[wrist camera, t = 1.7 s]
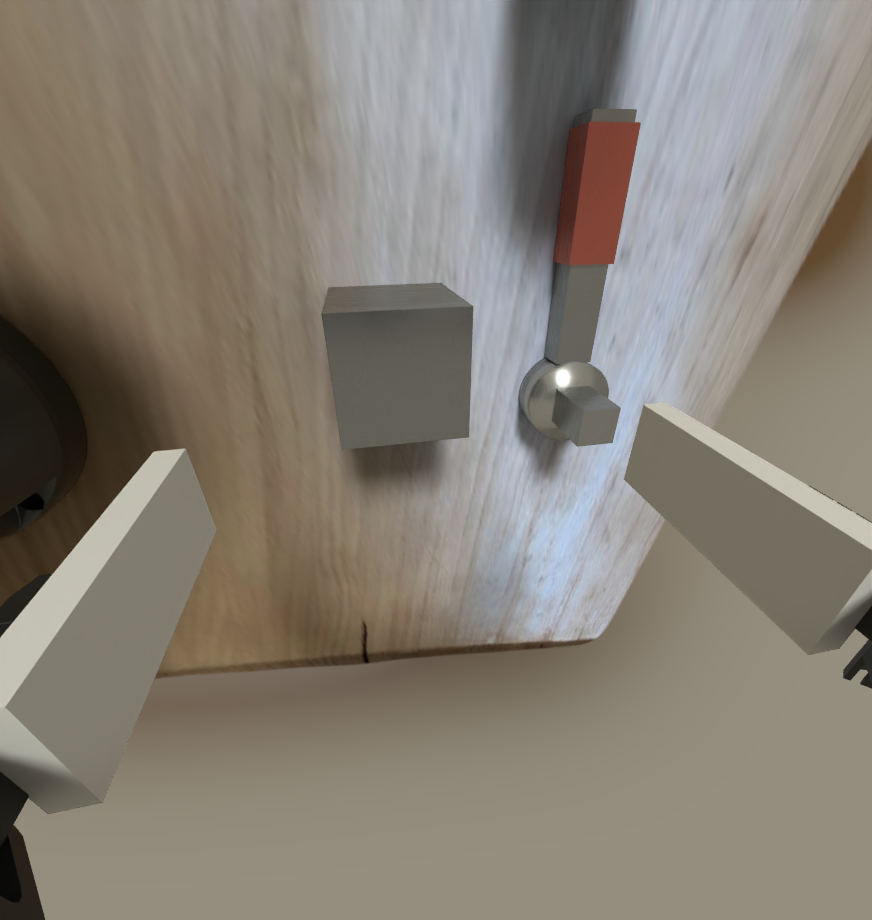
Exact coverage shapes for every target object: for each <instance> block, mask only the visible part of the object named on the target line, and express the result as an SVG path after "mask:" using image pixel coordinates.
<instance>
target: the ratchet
mask: <svg viewBox="0 0 872 920" xmlns="http://www.w3.org/2000/svg"><path fill="white" fill-rule="evenodd" d="M636 112H637V110H634V109H597V108H593V109H591V110H588V111H586V112H584V113H582V114H579V115H577V116H575V119H574V127H573V128H571V129H569V138H568V146H567V154H566V162H565V170H564V178H563V187H562V195H561V203H560V211H559V219H558V227H557V236H556V244H555V252H554V260H553V262H556V270H555V278H554V286H553V294H552V302H551V310H550V318H549V326H548V334H547V341H546V349H545V356H546V358H544V359H542V360H540V361H539V362H538V363H536V364H535V365H534V366H533V367H532V368H531V369H530V370H529V371H528V373H527V374H526V376H525V377H524V379H523V381H522V384H521V387H520V391H519V404H520V408H521V410H522V412H523V414H524V415H525V416H526V417H527V419H528V420H529V421H530V422H531V423H532V424H533V425H534V426H535V428H536V429H537V430H538V431H539V432H540V433H541V434H542V435H544V436H546V437H548V438H551V439H556V440H565V439H570V440H571V441H572V442H573V443H574V444H575V445H576V446H587V445H596V444H606V443H613V438H614V434H615V430H616V426H617V422H618V417H619V413H620V409H621V408H620V407H619V406H617V405H616V404H615V403H613V402H612V401H610V400H609V399H608V395H609V390H608V384H607V381H606V378H605V377H604V375H603V374H602V373H601V371H600V370H598V369H597V368H595V367H594V366H592V365H591V364H589V363H587V362H590V360H591V355H592V349H593V344H594V338H595V333H596V328H597V322H598V317H599V311H600V306H601V301H602V295H603V290H604V285H605V279H606V274H607V268H608V264H614V260H615V255H616V249H617V244H618V239H619V234H620V228H621V223H622V218H623V213H624V208H625V202H626V197H627V192H628V187H629V181H630V176H631V171H632V166H633V161H634V155H635V150H636V145H637V140H638V134H639V129H640V124H641V123H637V122H635V117H636Z"/></svg>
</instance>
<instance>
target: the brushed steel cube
mask: <svg viewBox="0 0 872 920" xmlns="http://www.w3.org/2000/svg"><path fill="white" fill-rule="evenodd" d="M322 320H323V327H324V333H325V340H326V347H327V353H328V360H329V367H330V373H331V380H332V387H333V393H334V400H335V407H336V413H337V420H338V427H339V433H340V440H341V447H342V450H345V449H355V448H365V447H375V446H385V445H395V444H406V443H416V442H426V441H436V440H446V439H456V438H467V437H469V418H470V388H471V358H472V327H473V306H472V305H471V304H469V303H468V302H467V301H465V300H464V299H462V298H461V297H460V296H458V295H457V294H456V293H454V292H453V291H451V290H450V289H449V288H447V287H446V286H444V285H443V284H442V283H431V284H406V285H380V286H355V287H330V288H328V292H327V295H326V299H325V303H324V306H323V310H322Z"/></svg>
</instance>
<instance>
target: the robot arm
mask: <svg viewBox="0 0 872 920" xmlns="http://www.w3.org/2000/svg"><path fill="white" fill-rule="evenodd" d="M86 445H87V443H86V433H85V427H84V423H83V419H82V416H81V413H80V410H79V408H78V406H77V403H76V401H75V399H74V397H73V395H72V393H71V392H70V390H69V388H68V386H67V385H66V383H65V382H64V380H63V379H62V377H61V376H60V375H59V373H58V372H57V371H56V369H55V368H54V367H53V366H52V364H51V363H50V362H49V361H48V360H47V358H46V357H45V356H44V355H43V354H42V353H41V352H40V351H39V350H38V349H37V348H36V347H35V346H34V345H33V344H32V343H31V342H30V341H29V340H28V339H27V338H26V337H24V336H23V335H22V334H21V333H20V332H19V331H18V330H16V329H15V328H14V327H13V326H11V325H10V324H9V323H7V322H6V321H5V320H4V319H2V318H1V317H0V541H1V540H3V539H5V538H7V537H10V536H12V535H14V534H16V533H18V532H20V531H22V530H24V529H25V528H27V527H29V526H30V525H32V524H33V523H35V522H36V521H38V520H39V519H40V518H41V517H43V516H44V515H45V514H46V513H47V512H48V511H49V510H50V509H51V508H52V507H53V506H54V505H55V504H56V503H58V502H59V501H60V500H61V499H62V498H63V497H64V496H65V495H66V494H67V493H68V492H69V490H70V489H71V488H72V487H73V486H74V484H75V483H76V481H77V479H78V478H79V476H80V474H81V471H82V469H83V466H84V462H85V457H86ZM624 480H625V481H626V482H627V483H628V484H629V485H630V486H631V487H632V488H634V489H635V490H636V491H637V492H638V493H639V494H640V495H641V496H642V497H643V498H644V499H645V500H646V501H647V502H648V503H649V504H650V505H651V506H652V507H653V508H654V509H656V510H657V511H658V512H659V513H660V514H661V515H662V516H663V517H664V518H665V519H666V520H667V521H668V522H669V523H670V524H671V525H672V526H673V527H674V528H676V529H677V530H678V531H679V532H680V533H681V534H682V535H683V536H684V537H685V538H686V539H687V540H688V541H689V542H690V543H691V544H692V545H693V546H695V548H696V549H697V550H699V551H700V552H701V553H702V554H703V555H704V556H705V557H706V558H707V559H708V560H709V561H710V562H711V563H712V564H713V565H714V566H715V567H716V568H717V569H718V570H720V571H721V572H722V573H723V574H724V575H725V576H726V577H727V578H728V579H729V580H730V581H731V582H732V583H733V584H734V585H735V586H736V587H737V588H739V589H740V590H741V591H742V592H743V593H744V594H745V595H746V596H747V597H748V598H749V599H750V600H751V601H752V602H753V603H754V604H755V605H756V606H757V607H758V608H759V609H760V610H762V611H763V612H764V613H765V614H766V615H767V616H768V617H769V618H770V619H771V620H772V621H773V622H774V623H775V624H776V625H777V626H778V627H779V628H780V629H781V630H782V631H784V632H785V633H786V634H787V635H788V636H789V637H790V638H791V639H792V640H793V641H794V642H795V643H796V644H797V645H798V646H799V647H800V648H801V649H802V650H803V651H805V652H806V653H807V654H808V655H811V654H815V653H820V652H825V651H830V650H834V649H839V648H840V647H841V646H842V645H843V643H844V642H845V641H846V640H847V638H848V637H849V636H850V635H851V633H852V632H853V631H854V630H855V628H856V629H857V630H858V631H859V632H861V633H862V634H863V635H864V636H865V637H867V638H868V639H869V640H868V641H867V643H866V644H865V645H864V646H863V647H862V648H861V650H860V651H859V652H858V653H857V654H856V656H855V657H854V658H853V659H852V660H851V661H850V663H849V664H848V665H847V666H846V667H845V669H844V672H843V673H844V674H843V678H845V679H847V680H851V679H852V678H853V677H854V676H855V675H856V674H857V672H858V671H859V670H860V669H863V670H867V671H868V674H867V675H866V676H865V677H864V678H863V680H862V681H861V683H860V684H861V685H864V686H867V687H869V688H872V522H871V521H869V520H867V519H866V518H864V517H862V516H861V515H859V514H857V513H856V514H855V513H854V512H852V510H850V509H849V508H847V507H845V506H843V505H842V504H840V503H838V502H835V501H833V499H831V498H830V497H828V496H826V495H825V494H823V493H821V492H820V491H818V490H816V489H814V488H813V487H811V486H808V485H806V484H804V483H803V482H801V481H799V480H797V479H796V478H794V477H792V476H791V475H789V474H787V473H785V472H784V471H782V470H780V469H778V468H777V467H775V466H773V465H772V464H770V463H768V462H767V461H765V460H763V459H761V458H760V457H758V456H756V455H755V454H753V453H751V452H749V451H748V450H746V449H744V448H742V447H741V446H739V445H738V444H736V443H734V442H732V441H731V440H729V439H727V438H726V437H724V436H722V435H721V434H719V433H717V432H715V431H714V430H712V429H710V428H709V427H707V426H705V425H703V424H702V423H700V422H698V421H697V420H695V419H693V418H692V417H690V416H688V415H686V414H685V413H683V412H681V411H680V410H678V409H676V408H674V407H673V406H671V405H669V404H668V403H657V404H646V405H643V409H642V413H641V417H640V421H639V424H638V428H637V432H636V436H635V439H634V443H633V447H632V451H631V455H630V458H629V462H628V466H627V470H626V473H625V477H624ZM215 533H216V527H215V524H214V522H213V519H212V516H211V514H210V511H209V509H208V506H207V503H206V501H205V498H204V495H203V493H202V490H201V487H200V485H199V482H198V480H197V477H196V474H195V472H194V469H193V466H192V464H191V461H190V458H189V456H188V453H187V451H186V449H176V450H165V451H155V452H153V453H152V454H151V456H150V457H149V458H148V459H147V460H146V462H145V463H144V464H143V465H142V467H141V468H140V469H139V470H138V471H137V473H136V474H135V475H134V476H133V477H132V479H131V480H130V481H129V482H128V483H127V485H126V486H125V487H124V488H123V490H122V491H121V492H120V493H119V494H118V496H117V497H116V498H115V499H114V500H113V502H112V503H111V504H110V505H109V507H108V508H107V509H106V510H105V511H104V513H103V514H102V515H101V516H100V517H99V519H98V520H97V521H96V522H95V523H94V525H93V526H92V527H91V528H90V530H89V531H88V532H87V533H86V534H85V536H84V537H83V538H82V539H81V540H80V542H79V543H78V544H77V545H76V547H75V548H74V549H73V550H72V551H71V553H70V554H69V555H68V556H67V557H66V559H65V560H64V561H63V562H62V563H61V565H60V566H59V567H58V568H57V570H56V571H55V572H54V573H53V574H47V575H39V576H38V577H37V578H35V579H34V580H33V581H31V582H30V583H29V584H27V585H26V586H24V587H23V588H22V589H20V590H19V591H18V592H16V593H15V594H14V595H12V596H11V597H10V598H8V599H7V601H6V602H5V603H4V604H3V605H2V606H1V607H0V920H45V918H44V913H43V909H42V906H41V902H40V898H39V895H38V891H37V887H36V883H35V880H34V876H33V872H32V869H31V865H30V861H29V857H28V853H27V850H26V846H25V842H24V839H23V836H22V834H21V833H20V832H19V831H18V829H17V828H16V827H15V826H14V825H13V824H14V822H15V821H16V819H17V817H18V815H19V813H20V812H21V810H22V808H23V806H24V804H25V802H26V801H27V799H28V798H29V799H30V800H31V801H33V802H34V803H35V804H36V805H37V806H39V807H40V808H41V809H42V810H44V811H45V812H46V813H47V814H51V813H56V812H60V811H65V810H70V809H75V808H80V807H84V806H89V805H94V804H98V803H102V802H103V800H104V798H105V796H106V793H107V791H108V789H109V786H110V783H111V781H112V779H113V777H114V774H115V772H116V769H117V767H118V764H119V762H120V759H121V757H122V755H123V753H124V750H125V748H126V746H127V743H128V741H129V738H130V736H131V733H132V731H133V729H134V726H135V724H136V722H137V719H138V717H139V714H140V712H141V710H142V707H143V705H144V702H145V700H146V698H147V695H148V693H149V691H150V688H151V685H152V683H153V681H154V679H155V676H156V674H157V671H158V669H159V667H160V664H161V662H162V659H163V657H164V655H165V652H166V650H167V648H168V645H169V643H170V640H171V638H172V636H173V633H174V631H175V628H176V626H177V624H178V621H179V619H180V616H181V614H182V612H183V609H184V607H185V605H186V602H187V600H188V597H189V595H190V593H191V590H192V588H193V585H194V583H195V581H196V578H197V576H198V573H199V571H200V569H201V566H202V564H203V562H204V559H205V557H206V554H207V552H208V550H209V547H210V545H211V542H212V540H213V538H214V535H215Z"/></svg>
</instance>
